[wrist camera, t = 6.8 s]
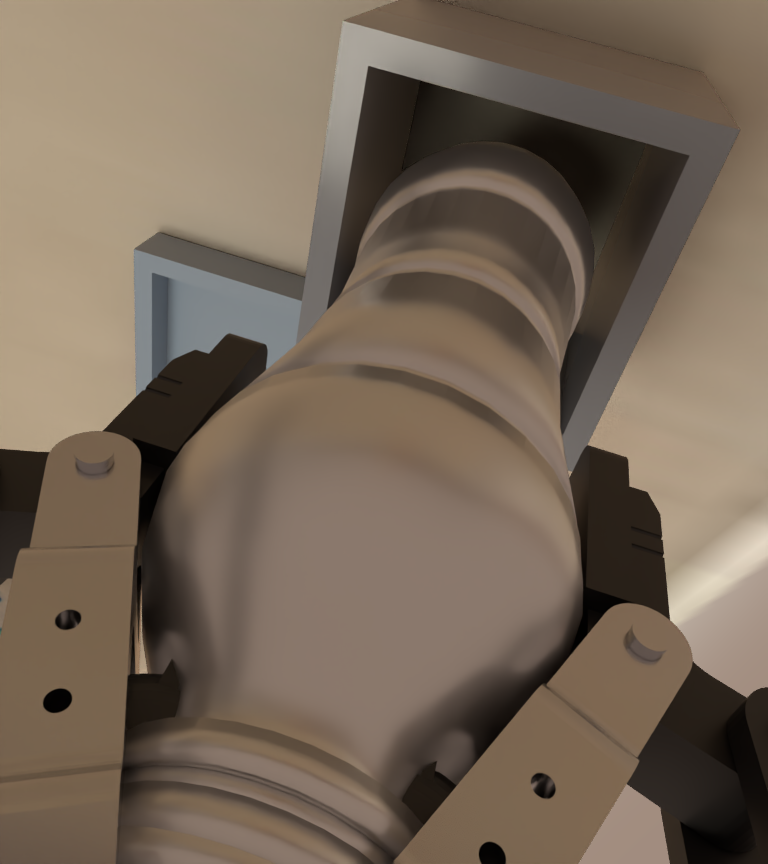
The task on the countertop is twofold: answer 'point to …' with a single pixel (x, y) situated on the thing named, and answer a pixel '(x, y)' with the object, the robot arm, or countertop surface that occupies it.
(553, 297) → the plastic bottle
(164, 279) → the tray
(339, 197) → the holder
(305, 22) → the countertop surface
